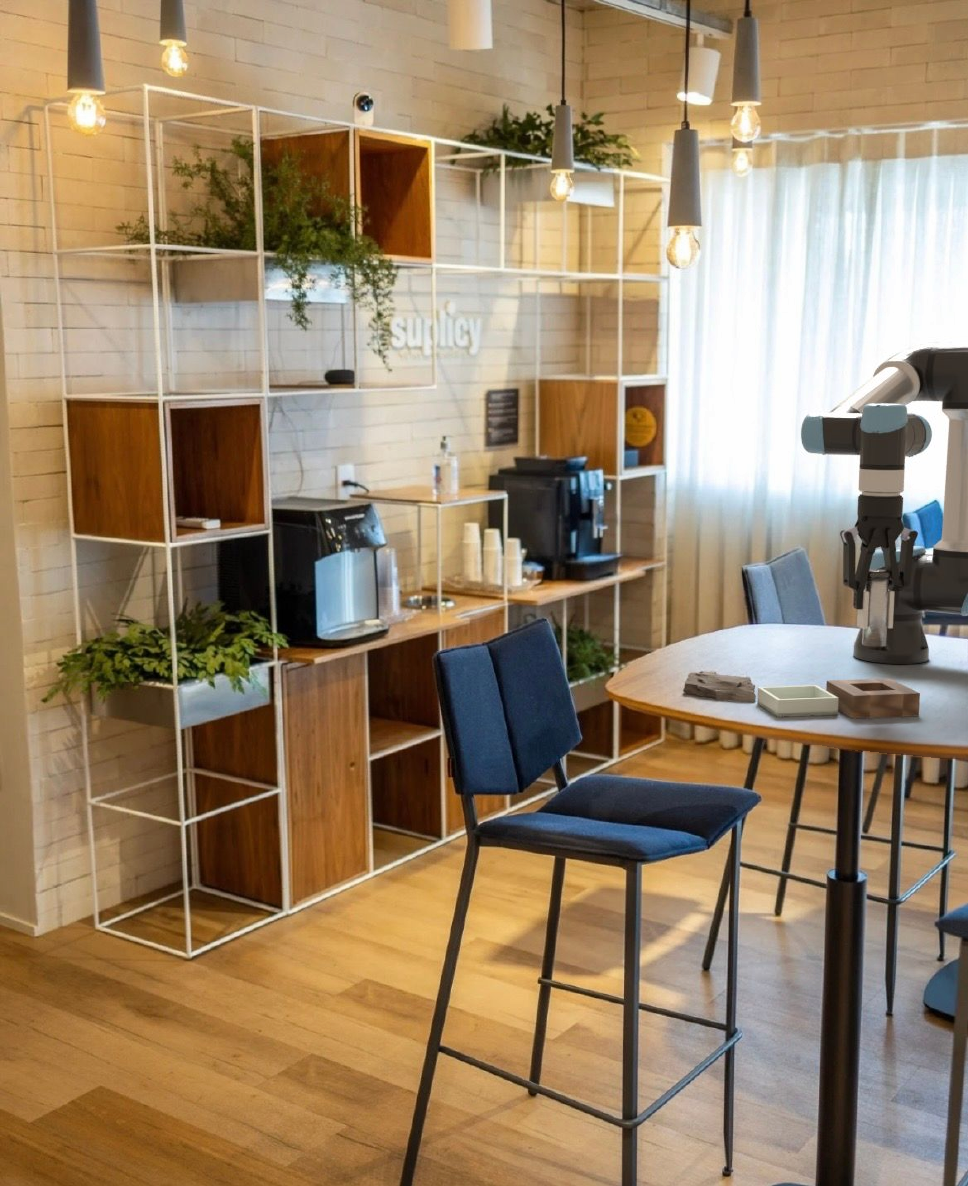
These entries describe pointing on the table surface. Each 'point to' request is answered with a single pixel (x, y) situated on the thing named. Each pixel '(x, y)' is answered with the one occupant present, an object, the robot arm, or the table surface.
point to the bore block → (874, 698)
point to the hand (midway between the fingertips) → (874, 627)
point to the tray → (797, 700)
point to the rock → (720, 686)
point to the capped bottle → (877, 608)
